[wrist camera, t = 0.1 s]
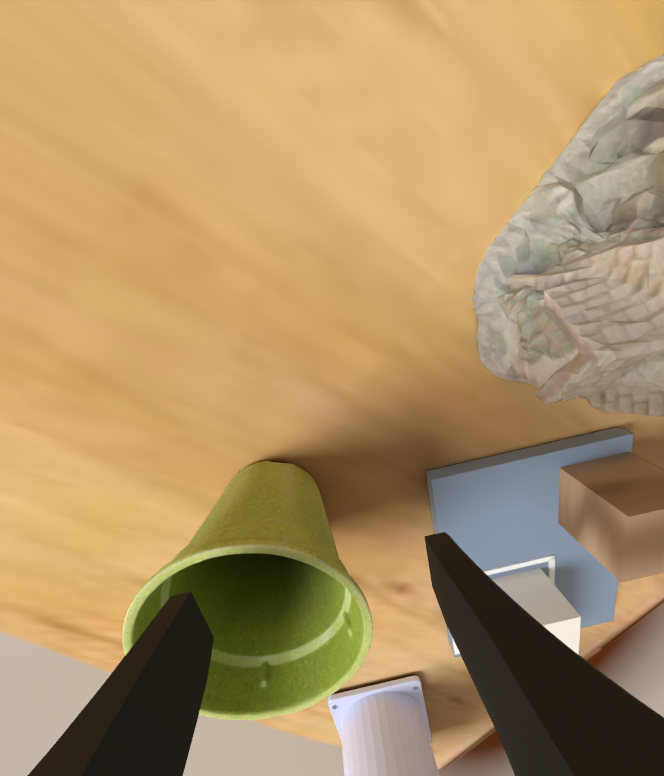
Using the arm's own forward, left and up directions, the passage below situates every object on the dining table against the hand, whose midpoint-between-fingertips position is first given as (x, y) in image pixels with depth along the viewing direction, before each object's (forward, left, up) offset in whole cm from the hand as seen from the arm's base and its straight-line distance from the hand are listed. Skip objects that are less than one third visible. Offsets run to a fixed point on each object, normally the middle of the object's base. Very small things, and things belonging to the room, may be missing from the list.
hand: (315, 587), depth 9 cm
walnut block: (-8, -17, -9) cm, 21 cm away
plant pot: (-4, +3, -10) cm, 11 cm away
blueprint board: (-13, -13, -10) cm, 21 cm away
